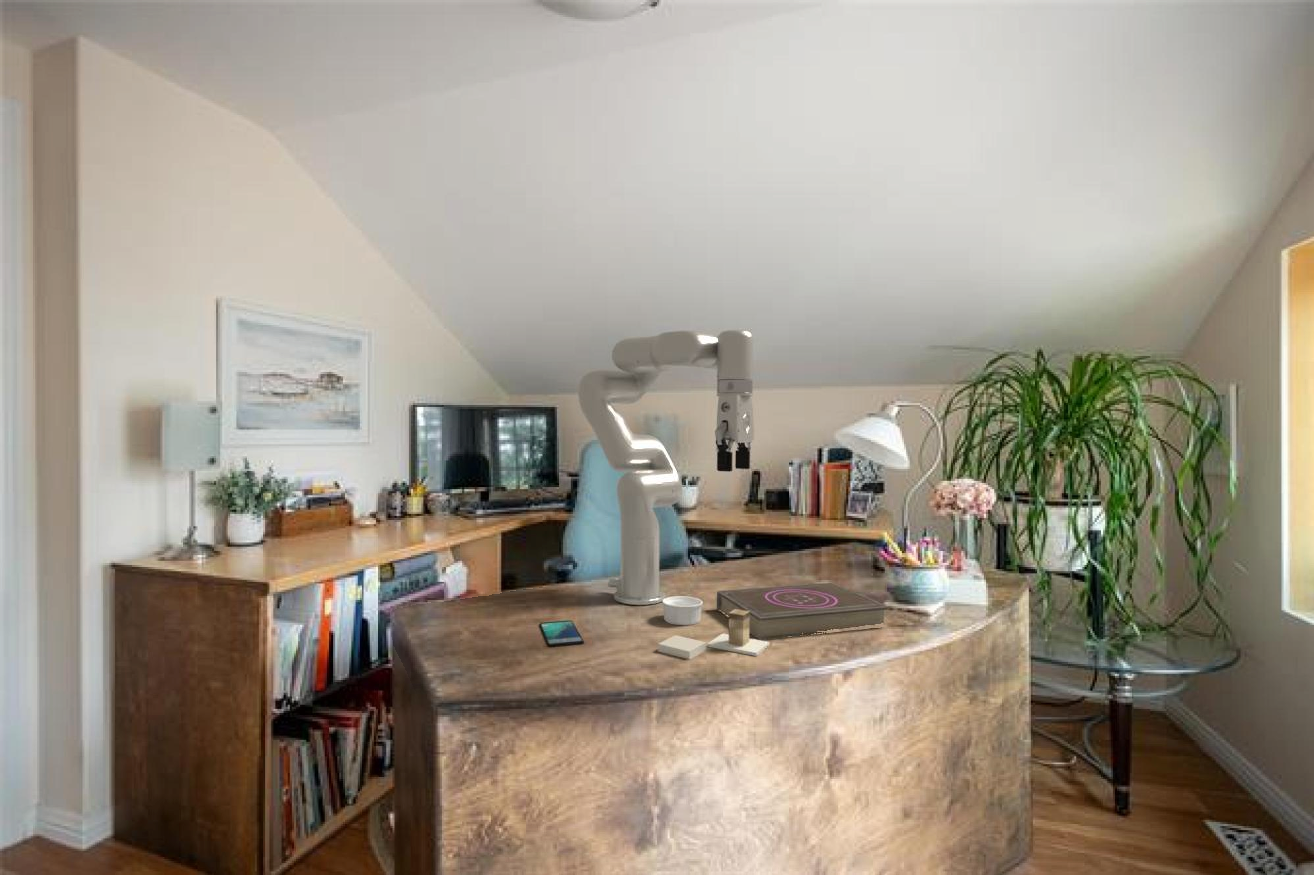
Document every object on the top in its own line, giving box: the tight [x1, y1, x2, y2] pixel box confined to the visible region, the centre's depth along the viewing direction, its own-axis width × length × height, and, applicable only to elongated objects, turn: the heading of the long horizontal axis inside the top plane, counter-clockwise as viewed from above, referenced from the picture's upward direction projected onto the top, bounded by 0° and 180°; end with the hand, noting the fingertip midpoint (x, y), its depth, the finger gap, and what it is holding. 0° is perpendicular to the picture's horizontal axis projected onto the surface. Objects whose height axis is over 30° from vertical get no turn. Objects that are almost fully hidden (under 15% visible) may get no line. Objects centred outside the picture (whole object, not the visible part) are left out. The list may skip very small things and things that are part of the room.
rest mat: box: [707, 633, 770, 657], centre depth 123 cm, size 10×7×1 cm
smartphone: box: [538, 619, 585, 648], centre depth 129 cm, size 7×1×15 cm
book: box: [716, 582, 891, 641], centre depth 141 cm, size 30×22×5 cm
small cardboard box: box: [728, 609, 750, 646], centre depth 123 cm, size 3×3×6 cm
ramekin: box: [661, 595, 704, 626], centre depth 139 cm, size 9×9×4 cm
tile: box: [657, 634, 707, 660], centre depth 120 cm, size 2×6×7 cm
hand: (733, 469), depth 135 cm, fingers open, 9 cm apart
